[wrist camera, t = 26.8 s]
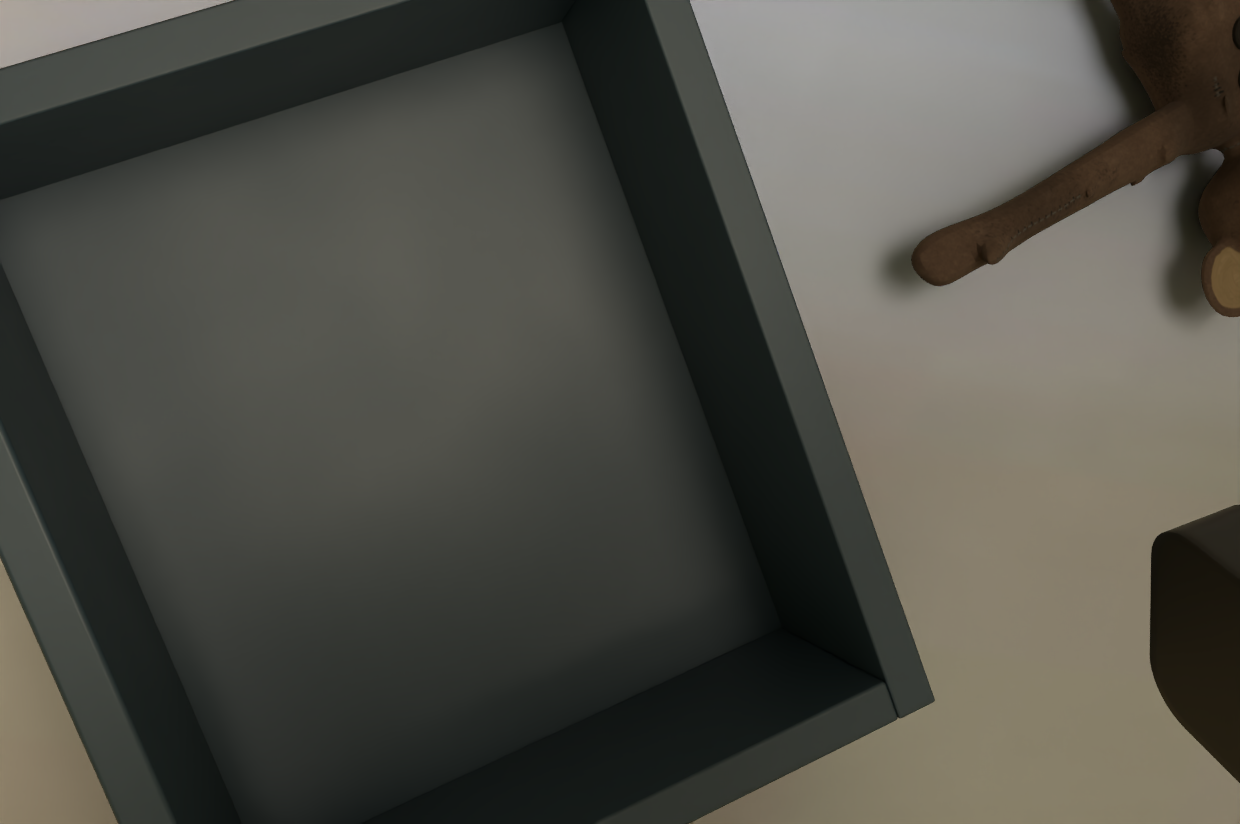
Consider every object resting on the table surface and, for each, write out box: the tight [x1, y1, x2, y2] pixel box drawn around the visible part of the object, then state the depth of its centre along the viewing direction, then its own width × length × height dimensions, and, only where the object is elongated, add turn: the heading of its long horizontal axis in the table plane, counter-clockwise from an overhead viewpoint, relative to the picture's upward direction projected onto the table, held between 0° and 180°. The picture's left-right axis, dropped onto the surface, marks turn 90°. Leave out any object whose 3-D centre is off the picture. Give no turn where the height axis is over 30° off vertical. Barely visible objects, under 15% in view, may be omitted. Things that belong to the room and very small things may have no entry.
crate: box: [0, 0, 935, 824], centre depth 22 cm, size 14×16×5 cm
